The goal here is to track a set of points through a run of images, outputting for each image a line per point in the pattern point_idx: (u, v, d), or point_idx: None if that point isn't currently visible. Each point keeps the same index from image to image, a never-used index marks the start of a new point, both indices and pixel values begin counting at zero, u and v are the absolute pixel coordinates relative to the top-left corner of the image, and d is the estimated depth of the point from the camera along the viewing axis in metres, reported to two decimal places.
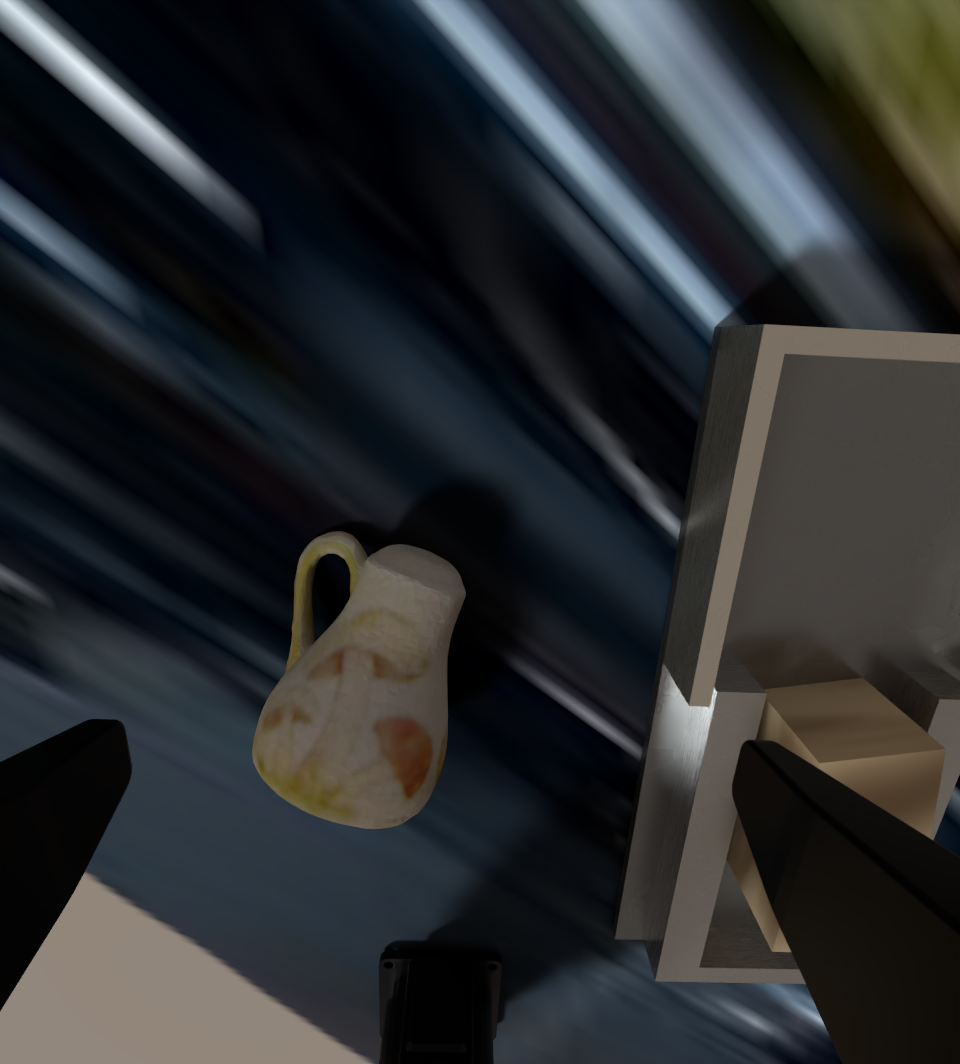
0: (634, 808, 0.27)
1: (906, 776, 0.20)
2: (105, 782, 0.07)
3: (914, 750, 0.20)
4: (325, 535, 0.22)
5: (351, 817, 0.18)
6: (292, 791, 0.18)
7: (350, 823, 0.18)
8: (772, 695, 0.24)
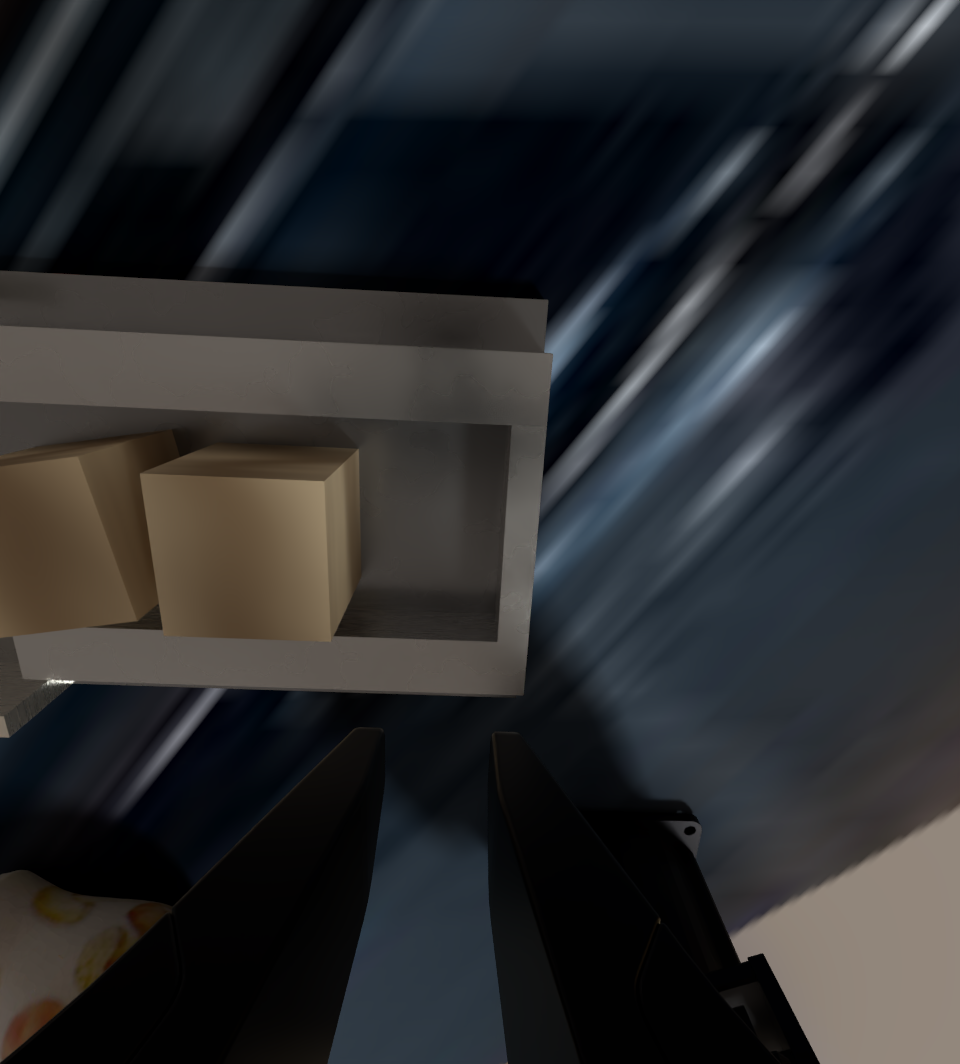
0: None
1: None
2: (379, 790, 0.08)
3: None
4: None
5: None
6: None
7: None
8: None
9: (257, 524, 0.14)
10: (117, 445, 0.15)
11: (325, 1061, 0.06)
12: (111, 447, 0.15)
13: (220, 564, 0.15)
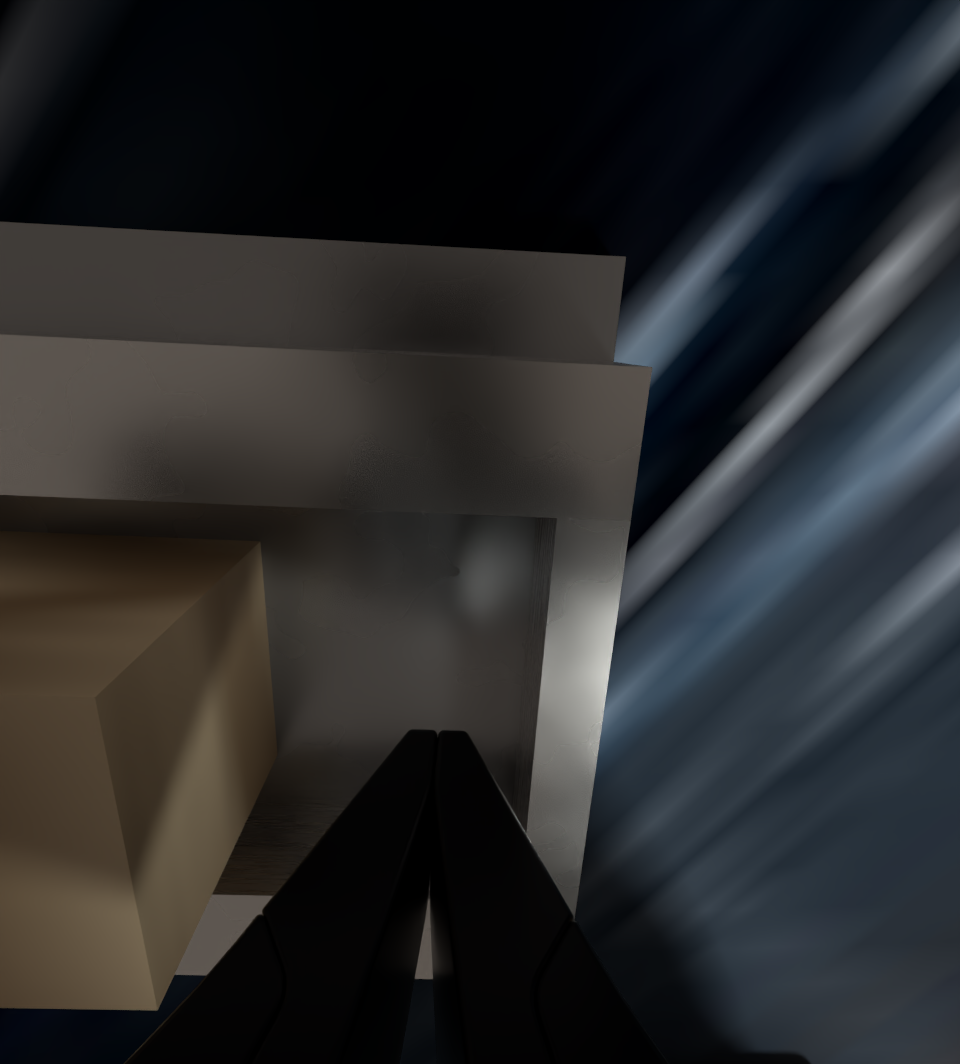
0: None
1: None
2: None
3: None
4: None
5: None
6: None
7: None
8: None
9: None
10: None
11: (398, 1062, 0.06)
12: None
13: None
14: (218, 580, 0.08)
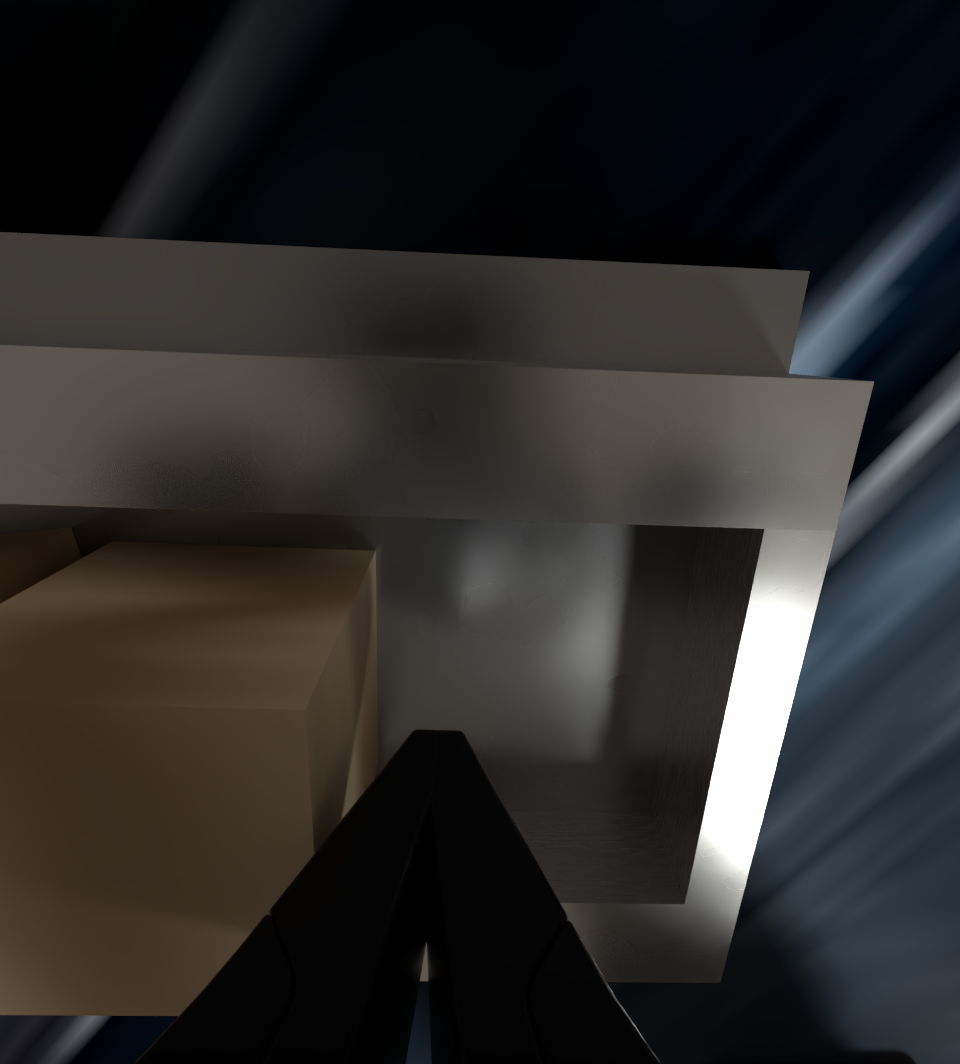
0: None
1: None
2: None
3: None
4: None
5: None
6: None
7: None
8: None
9: (144, 803, 0.06)
10: None
11: (404, 1062, 0.06)
12: None
13: (62, 884, 0.06)
14: (357, 590, 0.08)
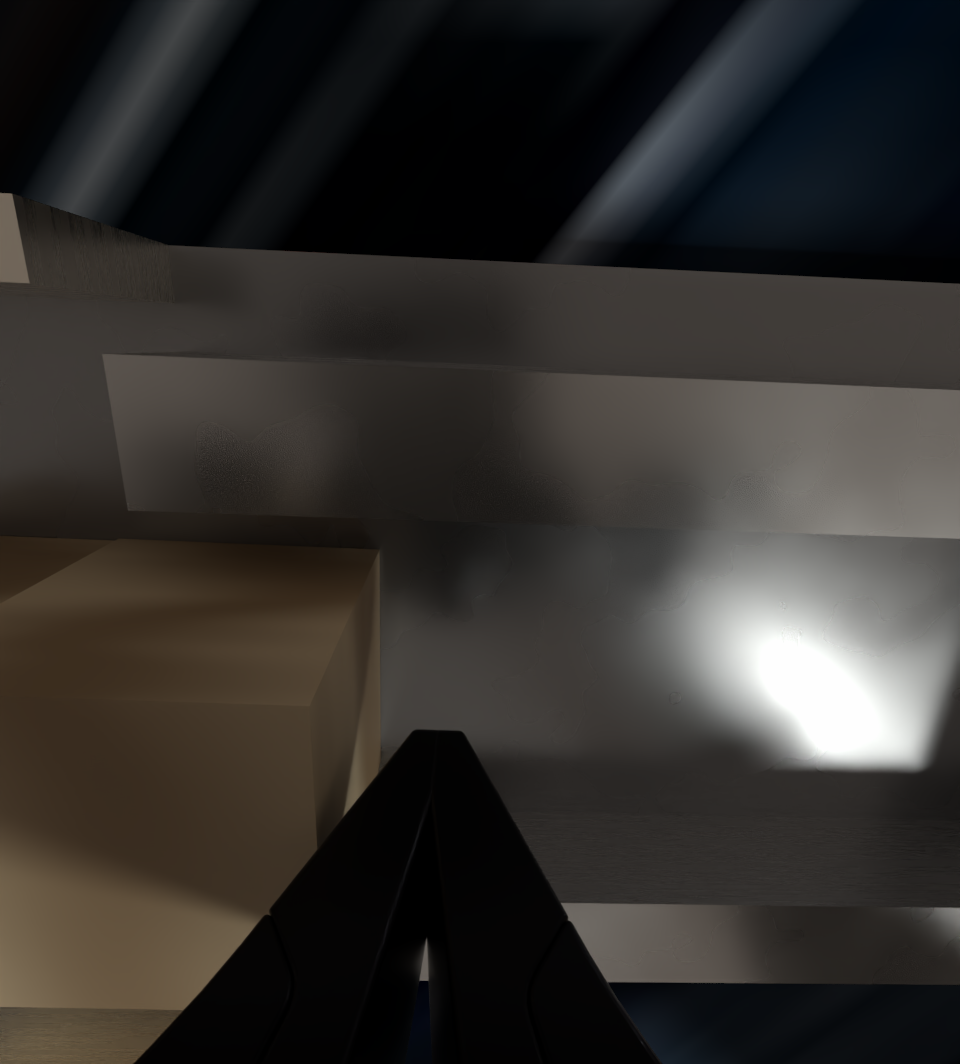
0: None
1: None
2: None
3: None
4: None
5: None
6: None
7: None
8: None
9: (150, 797, 0.06)
10: None
11: (404, 1063, 0.06)
12: None
13: (68, 877, 0.06)
14: (361, 589, 0.08)
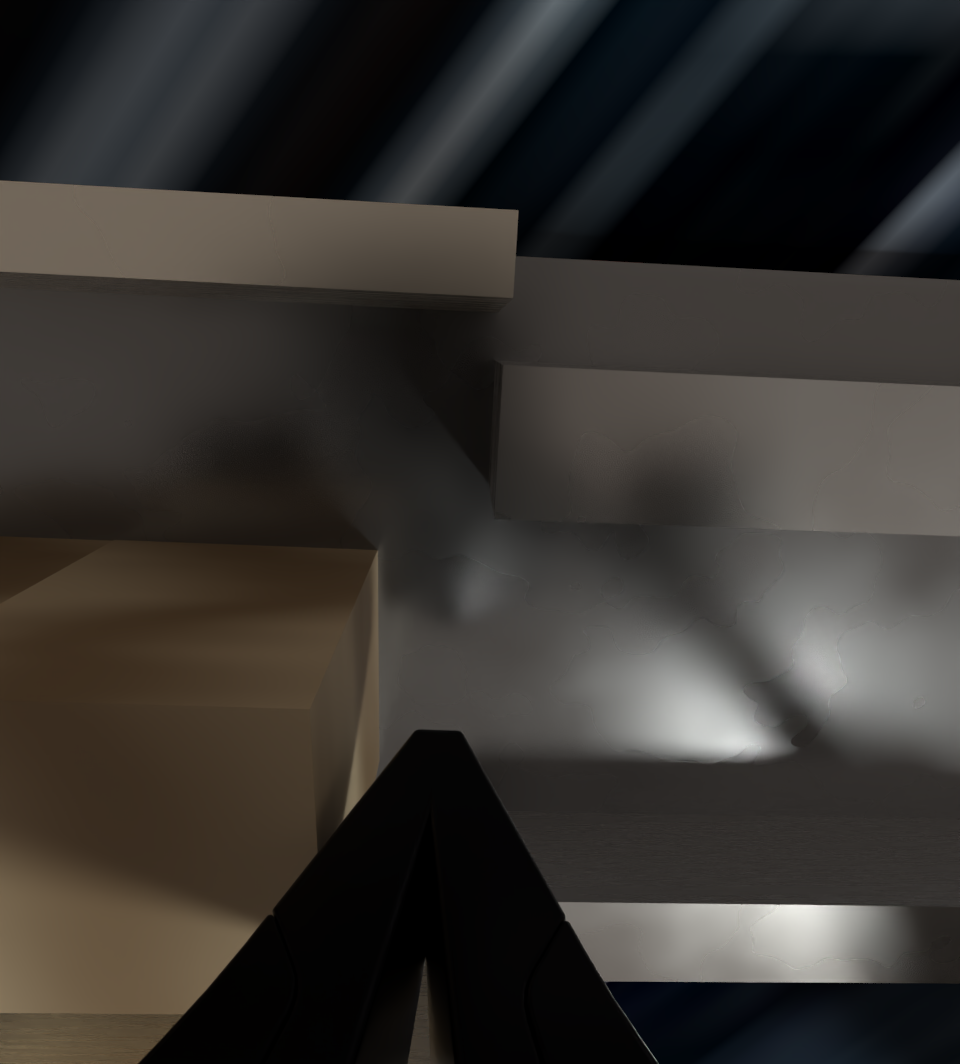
0: None
1: None
2: None
3: None
4: None
5: None
6: None
7: None
8: None
9: (148, 801, 0.06)
10: None
11: (406, 1062, 0.06)
12: None
13: (65, 881, 0.06)
14: (360, 590, 0.08)
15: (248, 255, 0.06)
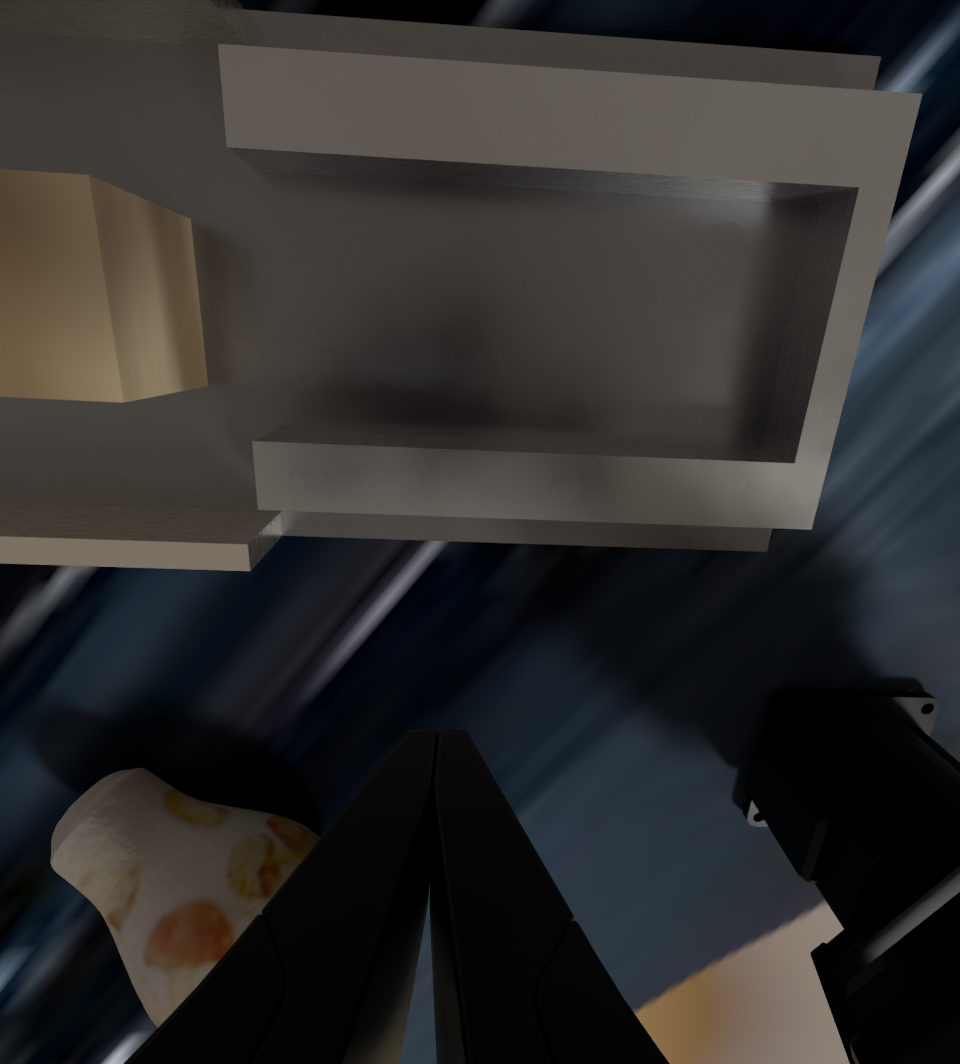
0: None
1: None
2: None
3: None
4: None
5: None
6: None
7: None
8: None
9: (13, 236, 0.12)
10: None
11: (398, 1062, 0.06)
12: None
13: None
14: None
15: None
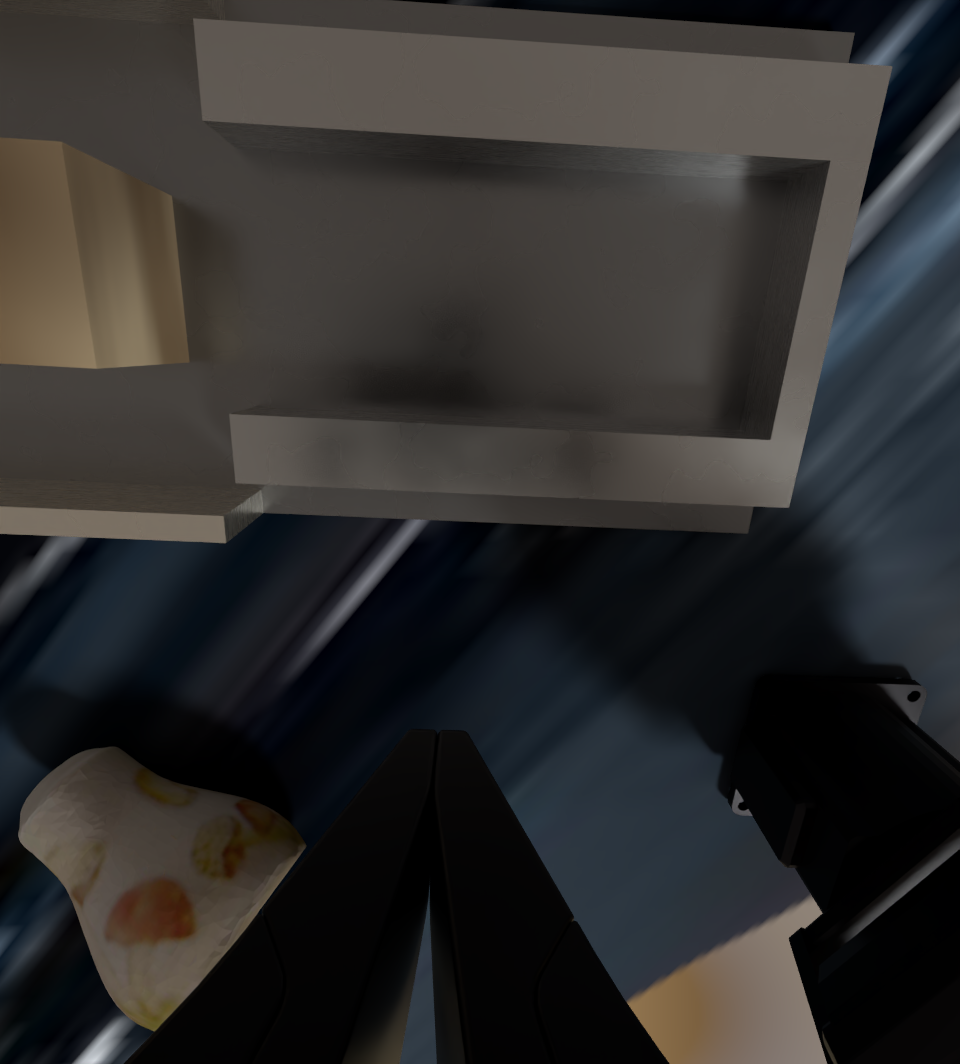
0: None
1: None
2: None
3: None
4: None
5: (176, 1001, 0.17)
6: (152, 1029, 0.18)
7: None
8: None
9: None
10: None
11: (398, 1062, 0.06)
12: None
13: None
14: (138, 179, 0.14)
15: None
